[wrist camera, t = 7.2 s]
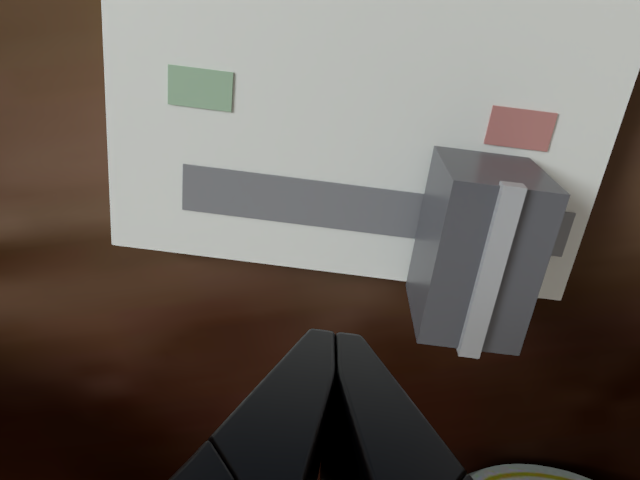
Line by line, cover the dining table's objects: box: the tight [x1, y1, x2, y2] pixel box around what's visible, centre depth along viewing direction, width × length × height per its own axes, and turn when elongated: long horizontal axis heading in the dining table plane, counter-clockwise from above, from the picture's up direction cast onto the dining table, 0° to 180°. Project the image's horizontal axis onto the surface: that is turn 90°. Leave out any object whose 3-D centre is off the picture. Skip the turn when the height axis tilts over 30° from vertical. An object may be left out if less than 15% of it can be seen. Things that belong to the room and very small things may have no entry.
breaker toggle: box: [406, 146, 570, 359], centre depth 17 cm, size 5×3×4 cm, turn 173°
